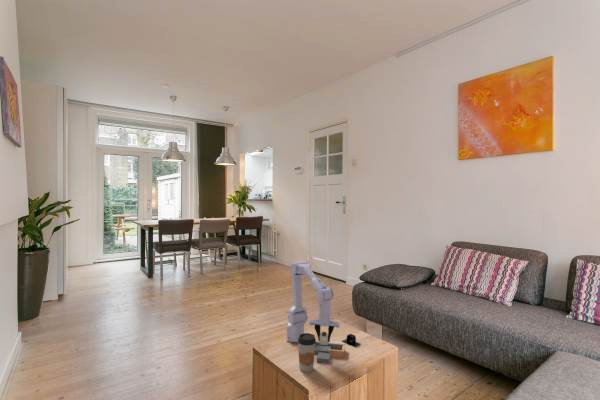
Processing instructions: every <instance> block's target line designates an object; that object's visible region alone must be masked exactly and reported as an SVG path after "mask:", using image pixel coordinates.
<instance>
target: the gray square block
mask: <svg viewBox="0 0 600 400" xmlns="http://www.w3.org/2000/svg"><path fill="white" fill-rule="evenodd" d="M331 358H332V357H331V354H330V353H321V352H319V353H318V354H317V356H316V363H321V364H322V363H323V364H330V362H331Z"/></svg>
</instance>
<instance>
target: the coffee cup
mask: <svg viewBox="0 0 600 400" xmlns="http://www.w3.org/2000/svg"><path fill="white" fill-rule="evenodd" d="M316 342H317V340H316V336H315V335H314V334H312V333H309V332H304V333H303V334H300V335H299V338H298V365H299V366H298V367H299V370H300V372H303V373H310V372H312V371H313V369H314V362H315V355H316V354H315V343H316Z"/></svg>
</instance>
